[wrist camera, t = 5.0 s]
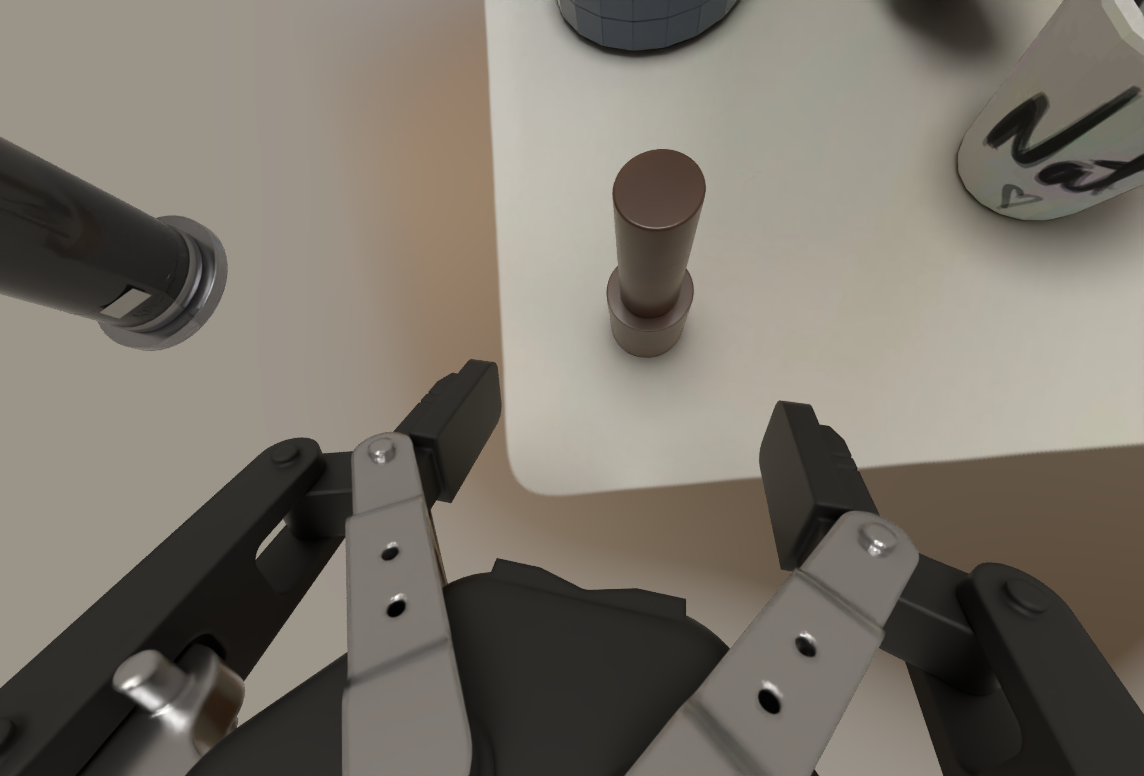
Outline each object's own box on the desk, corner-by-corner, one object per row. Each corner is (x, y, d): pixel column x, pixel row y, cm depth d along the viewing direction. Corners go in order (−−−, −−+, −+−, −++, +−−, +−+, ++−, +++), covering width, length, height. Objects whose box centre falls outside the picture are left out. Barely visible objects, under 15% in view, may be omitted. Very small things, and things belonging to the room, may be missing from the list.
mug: (895, 197, 25) (1058, 29, 16) (1009, 12, 27) (1225, -251, 17) (1083, 277, 23) (1411, 137, 13) (1199, 70, 24) (1577, -197, 15)
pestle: (597, 331, 27) (564, 206, 14) (639, 278, 27) (644, 108, 14) (654, 371, 26) (674, 275, 13) (696, 315, 26) (757, 168, 13)
